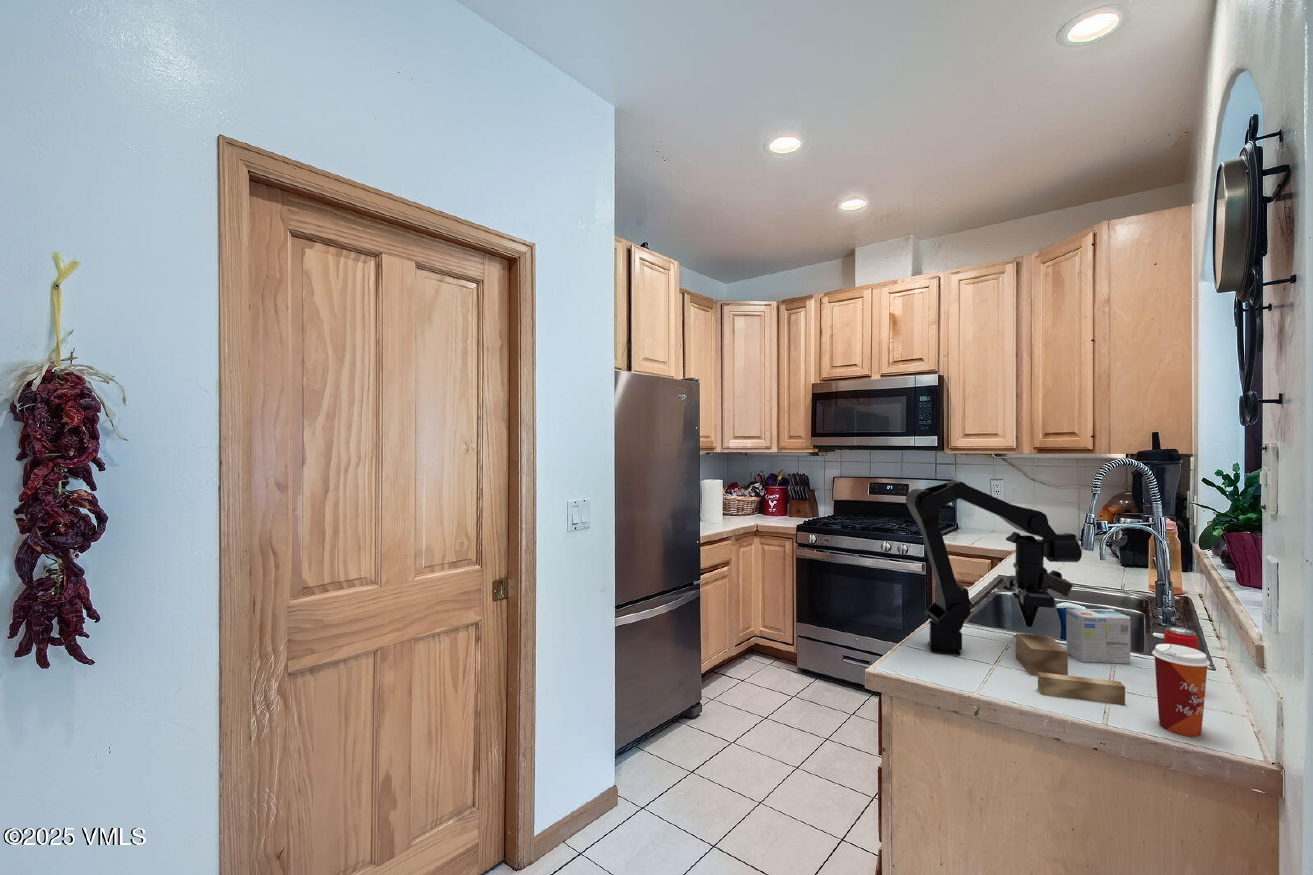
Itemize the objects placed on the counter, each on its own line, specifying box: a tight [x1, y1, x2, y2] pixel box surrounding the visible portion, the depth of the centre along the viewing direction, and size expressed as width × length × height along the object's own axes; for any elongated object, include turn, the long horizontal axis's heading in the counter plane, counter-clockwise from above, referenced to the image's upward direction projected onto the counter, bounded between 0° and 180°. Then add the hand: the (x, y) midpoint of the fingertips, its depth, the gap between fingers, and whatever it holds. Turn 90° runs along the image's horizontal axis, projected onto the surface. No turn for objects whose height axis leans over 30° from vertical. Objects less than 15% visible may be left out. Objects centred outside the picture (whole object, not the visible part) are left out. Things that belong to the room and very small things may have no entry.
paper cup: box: [1151, 643, 1211, 738], centre depth 105 cm, size 8×8×14 cm
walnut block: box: [1015, 632, 1069, 677], centre depth 132 cm, size 7×10×6 cm
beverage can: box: [1163, 626, 1199, 650], centre depth 121 cm, size 5×5×12 cm
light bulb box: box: [1065, 607, 1131, 665], centre depth 138 cm, size 11×7×11 cm, turn 84°
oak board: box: [1037, 672, 1126, 705], centre depth 118 cm, size 14×2×4 cm, turn 70°
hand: (1028, 626), depth 142 cm, fingers closed
